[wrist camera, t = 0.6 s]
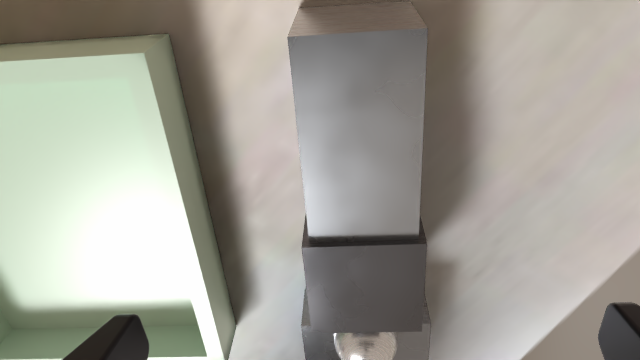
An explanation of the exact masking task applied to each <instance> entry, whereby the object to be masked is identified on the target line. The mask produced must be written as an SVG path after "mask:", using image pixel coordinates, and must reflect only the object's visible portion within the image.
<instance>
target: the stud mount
mask: <svg viewBox="0 0 640 360" xmlns="http://www.w3.org/2000/svg"><path fill="white" fill-rule="evenodd" d="M301 328H302V335H303V343H304V351H305V358H306V360H428V357H429V343H430V328H431V323H430V318H429V313H428V308H427V303H426V298H425V293H424V306H423V325H422V332H368V333H312V332H311V323H310V315H309V306H308V297H307V290H305V293H304V304H303V314H302V324H301Z"/></svg>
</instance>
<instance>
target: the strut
mask: <svg viewBox="0 0 640 360" xmlns="http://www.w3.org/2000/svg"><path fill="white" fill-rule="evenodd" d="M427 36H428V28H427V26H426V24H425V23H424V21H423V20H422V18H421V17H420V15H419V14H418V12H417V11H416V9H415V8H414V6H413V5H412V3H411V1H395V2H380V3H365V4H350V5H335V6H320V7H305V8H299V9H298V12H297V14H296V17H295V19H294V22H293V24H292V27H291V29H290V32H289V34H288V46H289V56H290V65H291V75H292V84H293V94H294V103H295V113H296V122H297V132H298V142H299V151H300V161H301V170H302V180H303V189H304V199H305V208H306V216H305V224H304V233H303V241H302V254H303V263H304V271H305V280H306V289H307V297H308V306H309V315H310V323H311V332H312V333H368V332H422V325H423V306H424V288H425V270H426V252H427V242H426V238H425V234H424V230H423V226H422V222H421V218H420V197H421V174H422V151H423V128H424V105H425V82H426V59H427Z"/></svg>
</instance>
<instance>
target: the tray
mask: <svg viewBox="0 0 640 360" xmlns="http://www.w3.org/2000/svg"><path fill="white" fill-rule="evenodd" d="M118 314H137V315H138V316H139V317H140V319H141V322H142V325H143V327H144V330H145V333H146V335H147V338H148V341H149V355H148V359H147V360H228V358H229V354H230V350H231V346H232V342H233V338H234V334H235V330H236V323H235V319H234V315H233V310H232V306H231V301H230V297H229V293H228V288H227V284H226V280H225V275H224V271H223V267H222V262H221V258H220V254H219V249H218V245H217V241H216V236H215V232H214V228H213V223H212V219H211V215H210V210H209V206H208V202H207V197H206V193H205V188H204V184H203V180H202V175H201V171H200V167H199V162H198V158H197V154H196V149H195V145H194V141H193V136H192V132H191V128H190V123H189V119H188V115H187V110H186V106H185V102H184V97H183V93H182V89H181V84H180V80H179V76H178V71H177V67H176V62H175V58H174V54H173V49H172V45H171V41H170V36H169V34H154V35H139V36H123V37H107V38H92V39H76V40H61V41H45V42H30V43H14V44H0V360H62V359H63V358H64V357H66V356H67V355H68V354H69V353H70V352H72V351H73V350H74V349H75V348H76V347H78V346H79V345H80V344H81V343H82V342H84V341H85V340H86V339H87V338H88V337H90V336H91V335H92V334H93V333H94V332H96V331H97V330H98V329H99V328H100V327H102V326H103V325H104V324H105V323H106V322H107V321H109V320H110V319H111V318H112V317H114V316H115V315H118Z"/></svg>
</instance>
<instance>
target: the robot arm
mask: <svg viewBox="0 0 640 360" xmlns="http://www.w3.org/2000/svg"><path fill="white" fill-rule="evenodd" d="M598 340H599V345H600V348H601V351H602V354H603V357H604V359H605V360H640V306H639V305H637V304H635V303H632V302H618V303H610V304H609V305H608V306H607V308H606V311H605V314H604V317H603V320H602V323H601V327H600V330H599V334H598ZM148 355H149V341H148V338H147V335H146V333H145V330H144V327H143V325H142V322H141V319H140V317H139V316H138V315H137V314H118V315H115V316H114V317H112V318H111V319H110V320H109V321H107V322H106V323H105V324H104V325H103V326H102V327H100V328H99V329H98V330H97V331H96V332H94V333H93V334H92V335H91V336H90V337H88V338H87V339H86V340H85V341H84V342H82V343H81V344H80V345H79V346H78V347H76V348H75V349H74V350H73V351H72V352H70V353H69V354H68V355H67V356H66V357H64V358H63V359H62V360H147V359H148Z"/></svg>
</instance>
